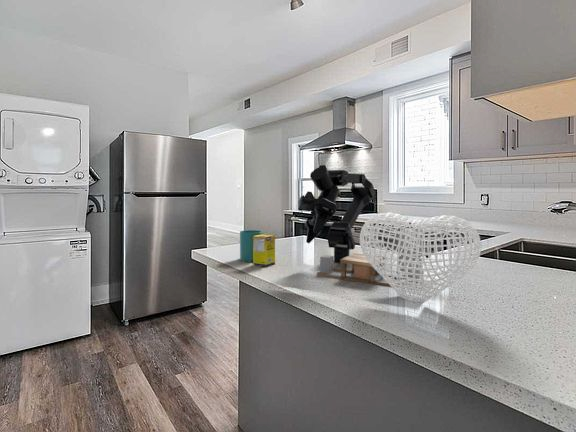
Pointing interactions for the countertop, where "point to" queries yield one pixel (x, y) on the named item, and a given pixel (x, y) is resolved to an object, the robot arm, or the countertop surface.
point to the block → (362, 271)
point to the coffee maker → (413, 251)
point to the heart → (440, 219)
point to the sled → (328, 266)
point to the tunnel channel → (354, 260)
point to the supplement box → (264, 250)
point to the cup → (247, 244)
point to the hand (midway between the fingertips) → (311, 237)
